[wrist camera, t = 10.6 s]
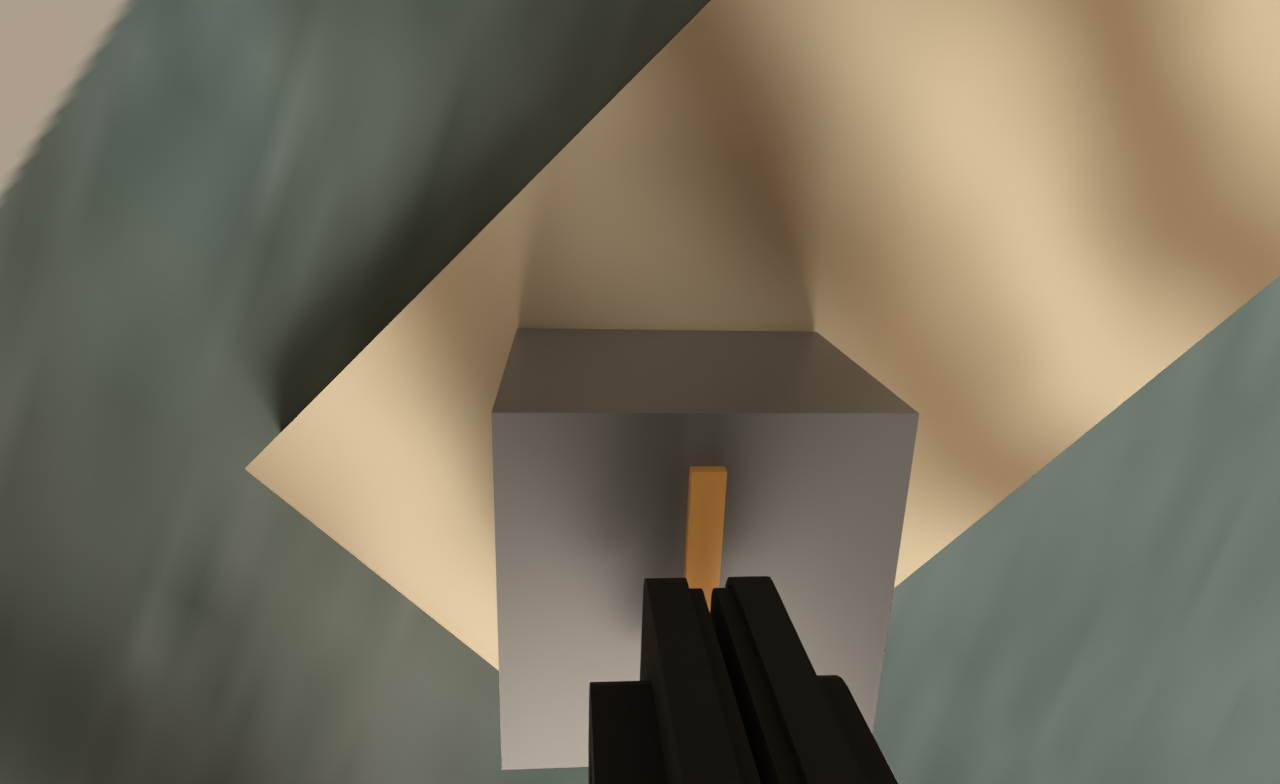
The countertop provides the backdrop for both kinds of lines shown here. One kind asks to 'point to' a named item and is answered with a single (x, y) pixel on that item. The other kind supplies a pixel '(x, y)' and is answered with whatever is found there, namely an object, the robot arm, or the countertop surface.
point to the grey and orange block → (684, 506)
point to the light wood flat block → (840, 250)
